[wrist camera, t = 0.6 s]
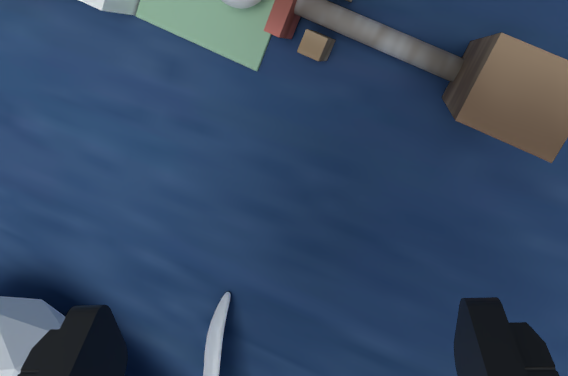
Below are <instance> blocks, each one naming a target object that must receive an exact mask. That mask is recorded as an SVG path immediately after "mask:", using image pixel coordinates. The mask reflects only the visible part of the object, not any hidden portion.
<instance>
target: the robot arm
mask: <svg viewBox="0 0 568 376" xmlns="http://www.w3.org/2000/svg"><path fill="white" fill-rule="evenodd" d="M454 357H455V365H456V370H457V374H458V376H559V374H558V372H557V371H556V370H555V365H554V362H553V360H552V358H551V355H550V353H549V350H548V348H547V346H546V343H545V342H544V341H543V340H542V339H541V338H540V337H539V335H538V334H537V333H536V332H535V331H534V330H533V329H532V328H531V327H530V326H529V325H528V324H527V323H526V322H522V323H508V320H507V317H506V314H505V312H504V309H503V306H502V304H501V302H500V300H499V299H498V298H496V297H492V298H462V299H461V301H460V305H459V312H458V319H457V325H456V332H455V339H454ZM126 366H127V347H126V344H125V341H124V339H123V337H122V334H121V332H120V330H119V328H118V325H117V323H116V321H115V318H114V316H113V314H112V312H111V310H110V308H109V307H108V306H107V305H81V306H73V307H72V308H71V309H70V310H69V311H68V313H67V315H66V317H65V319H64V321H63V323H62V325H61V327H60V329H50V330H49V331H48V332H47V333H46V334H45V335H44V336H43V337H42V339H41V340H40V341H39V342H38V343H37V344H36V345H35V346H34V347H33V348H32V349H31V351H30V353H29V355H28V357H27V358H26V360H25V362H24V364H23V366H22V368H21V373H20V374H18V375H17V376H124V374H125V371H126Z"/></svg>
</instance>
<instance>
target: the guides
mask: <svg viewBox="0 0 568 376" xmlns="http://www.w3.org/2000/svg"><path fill="white" fill-rule="evenodd" d="M346 1H349V2H352V0H346ZM334 43H335V39H332V38H330V37H328V36H325V35H323V34H321V33H318V32H316V31H313V30H308V29H306V31H305V33H304V36H303V38H302V41H301V43H300V45H299V48H298V50H297V52H298V53H301V54H303V55H305V56H307V57H310V58H312V59H314V60H316V61H327V59H328V57H329V54H330V52H331V50H332V47H333V45H334Z"/></svg>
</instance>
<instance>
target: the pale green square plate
mask: <svg viewBox="0 0 568 376" xmlns="http://www.w3.org/2000/svg"><path fill="white" fill-rule="evenodd" d="M274 1H275V0H261V1H260V2H259V3H258V4H256V5H254V6H252V7H250V8H245V9H238V8H233V7H231V6H229V5H227V4H225V3H224V2H222V1H221V0H140V2H139V6H138V9H137V12H136V17H138V18H140V19H142V20H145V21H147V22H149V23H151V24H153V25H156V26H158V27H160V28H162V29H164V30H167V31H169V32H171V33H173V34H175V35H178V36H180V37H182V38H184V39H187V40H189V41H191V42H193V43H195V44H198V45H200V46H202V47H204V48H206V49H209V50H211V51H213V52H215V53H217V54H220V55H222V56H224V57H226V58H228V59H231V60H233V61H235V62H237V63H240V64H242V65H244V66H246V67H248V68H251V69H253V70H255V71H258V69H259V67H260V64H261V62H262V59H263V56H264V54H265V51H266V48H267V46H268V43H269V41H270V38H271V35H272V34H270V33H268V32H265V31H264V28H265V25H266V23H267V20H268V17H269V15H270V12H271V9H272V7H273V4H274Z"/></svg>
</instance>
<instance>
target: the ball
mask: <svg viewBox="0 0 568 376" xmlns="http://www.w3.org/2000/svg"><path fill="white" fill-rule="evenodd" d="M221 1H222V2H224V3H225V4H227V5H229V6H231V7H233V8H238V9H245V8H250V7H252V6H254V5H256V4H258V3H259V2H260V1H261V0H221Z"/></svg>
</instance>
